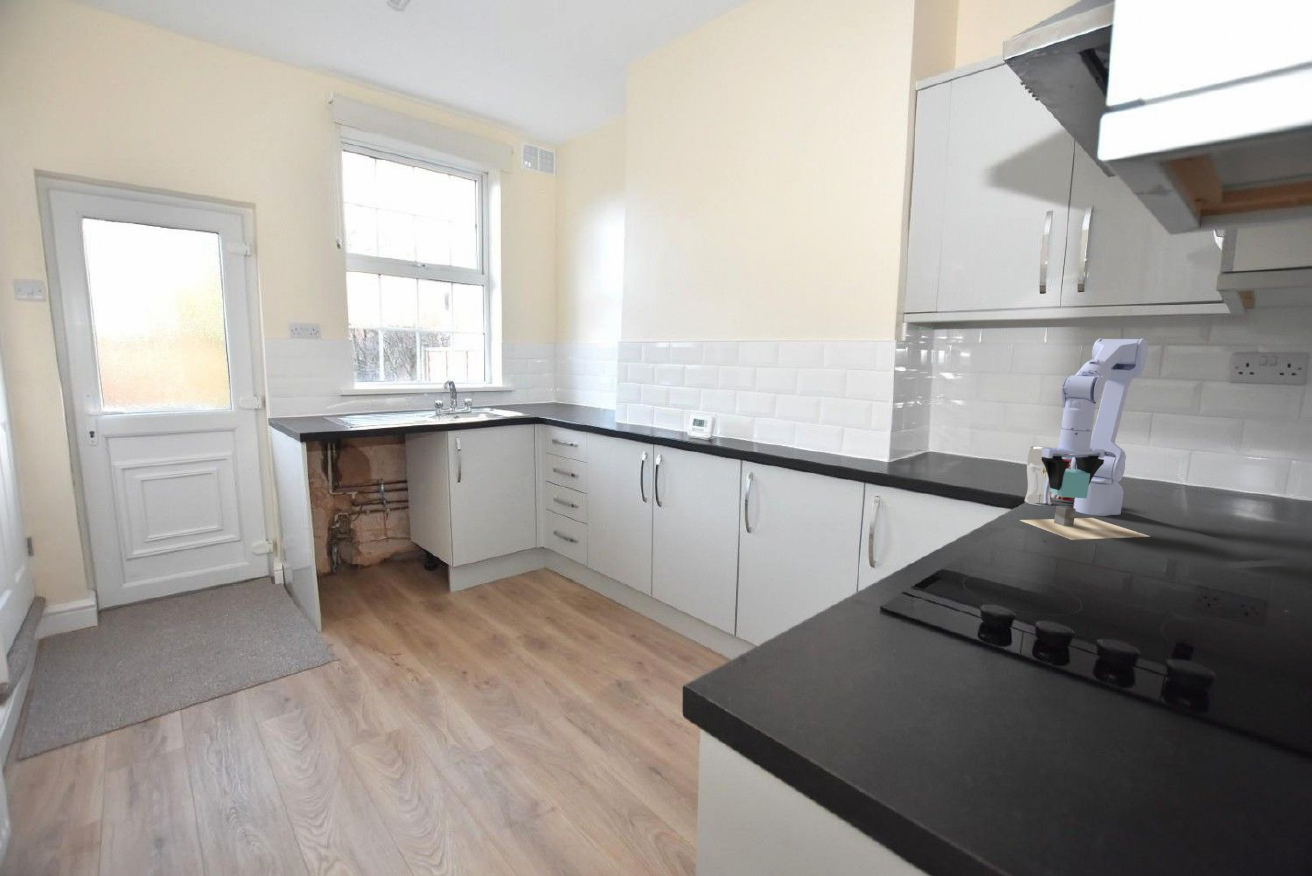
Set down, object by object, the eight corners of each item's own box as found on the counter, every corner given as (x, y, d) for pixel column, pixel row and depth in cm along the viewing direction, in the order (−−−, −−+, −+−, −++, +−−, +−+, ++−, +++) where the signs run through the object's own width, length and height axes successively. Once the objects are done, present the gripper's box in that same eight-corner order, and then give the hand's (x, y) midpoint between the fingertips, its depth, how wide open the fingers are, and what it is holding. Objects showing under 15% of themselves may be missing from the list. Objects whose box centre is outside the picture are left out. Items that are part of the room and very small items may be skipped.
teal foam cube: (1074, 492, 135) (1077, 469, 134) (1086, 498, 130) (1090, 473, 129) (1049, 491, 136) (1052, 467, 135) (1060, 496, 131) (1064, 472, 130)
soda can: (1077, 500, 161) (1083, 457, 159) (1075, 504, 156) (1082, 460, 155) (1050, 496, 165) (1056, 454, 163) (1048, 500, 160) (1053, 457, 158)
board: (1091, 521, 140) (1094, 501, 140) (1149, 540, 127) (1153, 518, 126) (1019, 524, 137) (1021, 503, 136) (1071, 544, 123) (1074, 521, 122)
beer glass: (1052, 502, 158) (1059, 447, 156) (1054, 508, 152) (1061, 451, 150) (1022, 498, 162) (1028, 445, 159) (1022, 503, 156) (1029, 448, 153)
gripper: (1088, 427, 136) (1080, 483, 138) (1034, 427, 133) (1026, 485, 135) (1116, 431, 129) (1107, 491, 131) (1060, 431, 126) (1052, 492, 129)
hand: (1068, 488), depth 133 cm, fingers closed on teal foam cube, 7 cm apart
